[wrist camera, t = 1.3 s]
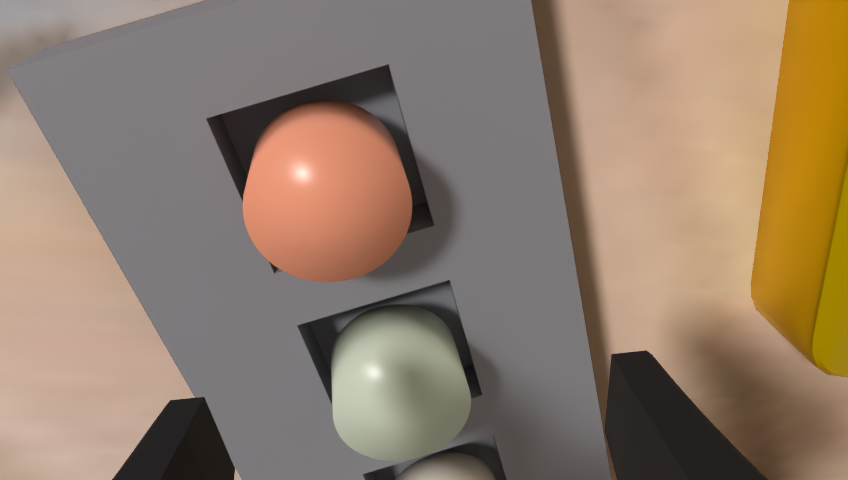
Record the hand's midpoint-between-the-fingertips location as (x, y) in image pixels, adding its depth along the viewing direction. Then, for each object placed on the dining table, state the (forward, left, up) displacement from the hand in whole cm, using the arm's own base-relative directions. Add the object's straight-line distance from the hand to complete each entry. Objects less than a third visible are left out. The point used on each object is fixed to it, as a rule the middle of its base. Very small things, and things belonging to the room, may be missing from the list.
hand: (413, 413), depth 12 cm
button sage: (-1, -6, -9) cm, 10 cm away
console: (-1, -6, -11) cm, 12 cm away
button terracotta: (-1, +1, -9) cm, 9 cm away
